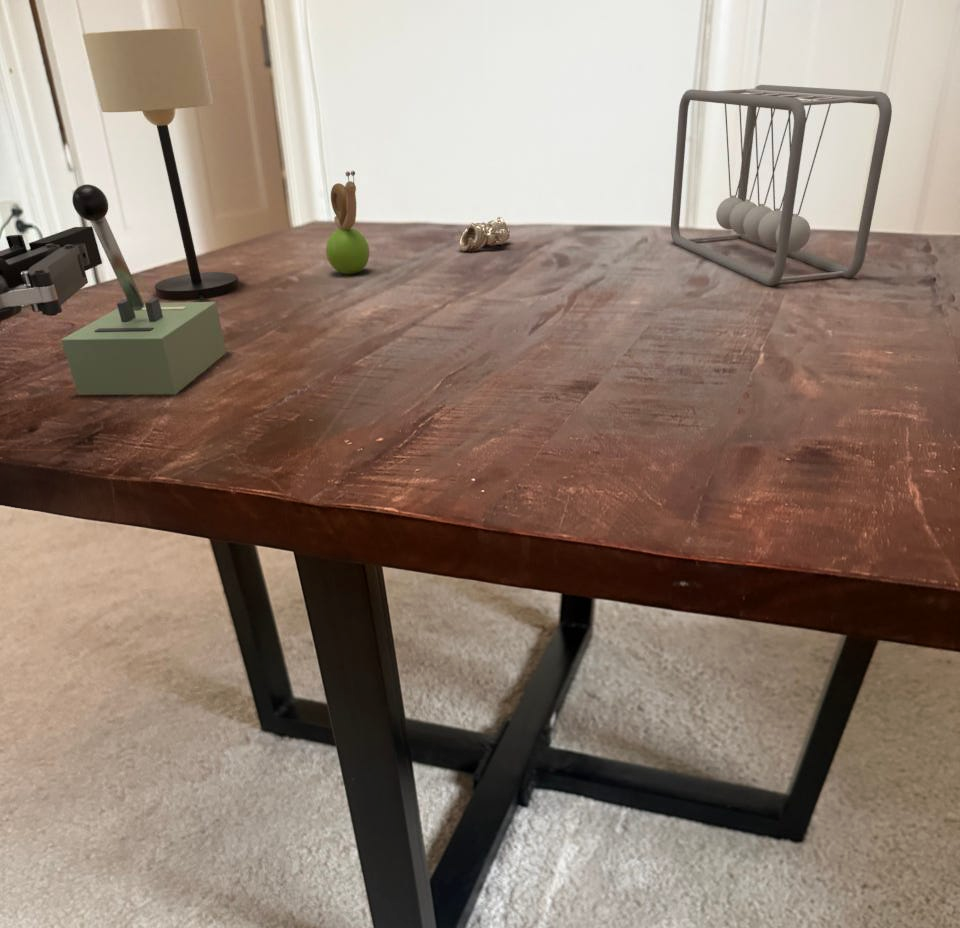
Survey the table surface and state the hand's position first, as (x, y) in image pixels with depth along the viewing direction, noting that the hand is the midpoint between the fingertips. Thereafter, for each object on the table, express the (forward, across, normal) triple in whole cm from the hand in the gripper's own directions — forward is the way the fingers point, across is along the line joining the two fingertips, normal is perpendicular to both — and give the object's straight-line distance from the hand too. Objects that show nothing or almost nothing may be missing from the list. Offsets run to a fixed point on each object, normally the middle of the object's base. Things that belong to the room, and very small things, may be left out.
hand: (88, 245), depth 69 cm
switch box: (+5, 0, -12) cm, 13 cm away
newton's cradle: (+49, +59, -12) cm, 77 cm away
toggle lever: (+5, 0, -6) cm, 8 cm away
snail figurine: (+46, +8, -12) cm, 48 cm away
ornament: (+60, +24, -12) cm, 66 cm away
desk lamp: (+35, -7, -12) cm, 38 cm away
